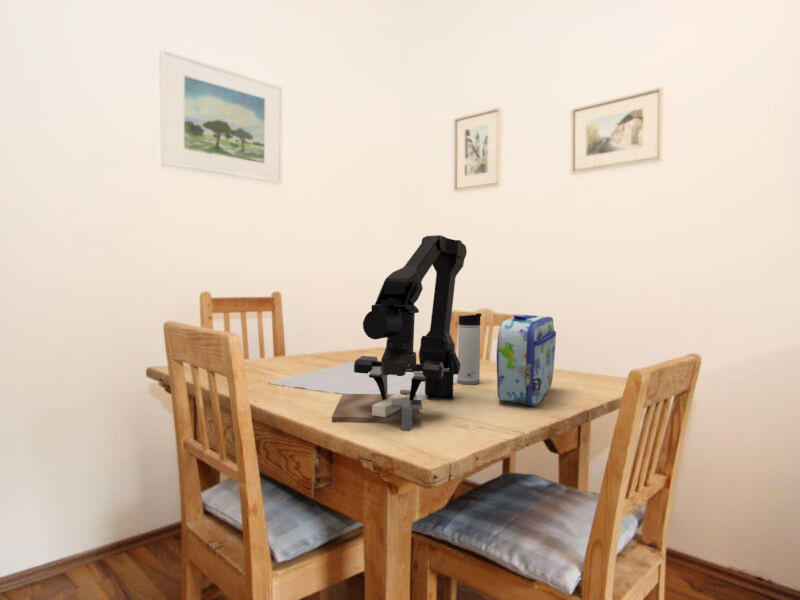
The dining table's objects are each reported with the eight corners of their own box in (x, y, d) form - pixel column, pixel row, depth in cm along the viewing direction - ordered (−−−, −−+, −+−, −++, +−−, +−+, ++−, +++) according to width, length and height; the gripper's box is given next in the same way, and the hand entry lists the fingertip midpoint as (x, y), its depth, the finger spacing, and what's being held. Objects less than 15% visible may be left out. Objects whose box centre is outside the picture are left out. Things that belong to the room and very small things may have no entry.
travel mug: (473, 386, 136) (475, 314, 135) (453, 383, 140) (454, 312, 139) (484, 382, 141) (485, 313, 140) (464, 379, 145) (465, 312, 144)
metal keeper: (420, 421, 100) (420, 400, 100) (422, 430, 94) (422, 407, 94) (391, 421, 100) (391, 399, 100) (391, 429, 94) (391, 407, 94)
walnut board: (416, 398, 120) (416, 382, 120) (420, 422, 99) (421, 403, 99) (342, 397, 120) (342, 382, 120) (331, 421, 99) (331, 402, 99)
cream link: (400, 399, 114) (400, 391, 114) (416, 401, 112) (416, 392, 112) (369, 414, 100) (369, 405, 100) (387, 417, 99) (387, 407, 99)
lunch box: (537, 411, 110) (539, 318, 109) (490, 405, 115) (492, 316, 114) (557, 390, 133) (559, 312, 132) (518, 385, 138) (519, 311, 137)
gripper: (347, 336, 99) (345, 413, 100) (440, 342, 96) (437, 421, 96) (361, 330, 110) (359, 399, 111) (445, 335, 106) (442, 406, 107)
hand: (397, 406), depth 106 cm, fingers open, 5 cm apart
